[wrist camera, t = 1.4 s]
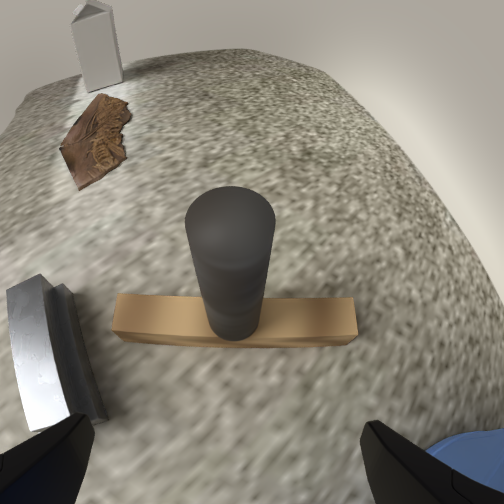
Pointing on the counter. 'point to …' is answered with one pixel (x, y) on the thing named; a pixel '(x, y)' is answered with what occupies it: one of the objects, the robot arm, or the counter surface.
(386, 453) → the robot arm
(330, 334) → the tan grey t-shaped tool
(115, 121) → the wooden fragment
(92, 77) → the milk carton
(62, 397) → the ridge stand
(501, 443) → the water jug
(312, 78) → the counter surface
